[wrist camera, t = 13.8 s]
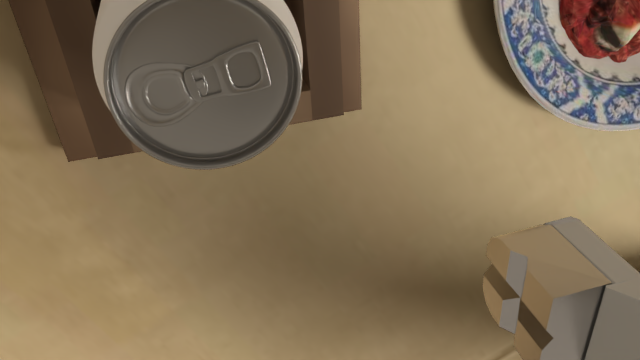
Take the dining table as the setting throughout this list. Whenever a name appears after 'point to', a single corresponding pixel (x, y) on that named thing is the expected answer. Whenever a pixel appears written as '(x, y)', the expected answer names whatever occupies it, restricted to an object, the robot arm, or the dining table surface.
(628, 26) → the ceramic plate
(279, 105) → the can
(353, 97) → the socket stand
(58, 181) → the dining table surface
